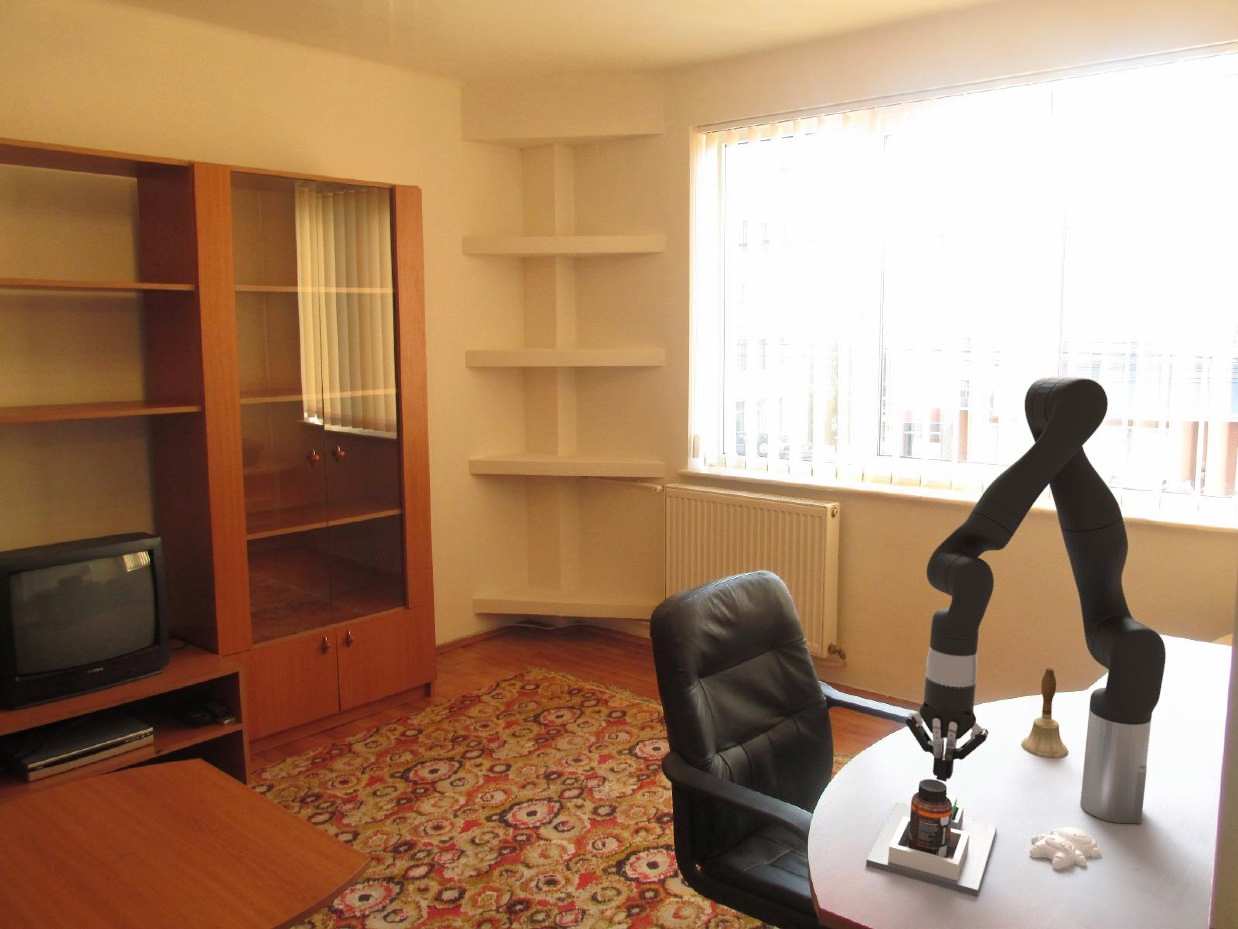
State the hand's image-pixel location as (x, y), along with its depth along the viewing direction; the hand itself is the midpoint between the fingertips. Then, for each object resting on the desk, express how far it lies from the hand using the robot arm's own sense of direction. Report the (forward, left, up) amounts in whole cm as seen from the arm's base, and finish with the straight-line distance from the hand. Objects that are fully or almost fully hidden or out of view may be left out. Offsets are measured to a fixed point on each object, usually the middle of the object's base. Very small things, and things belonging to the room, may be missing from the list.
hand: (942, 778), depth 157 cm
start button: (0, 0, -7) cm, 7 cm away
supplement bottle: (0, +10, -8) cm, 13 cm away
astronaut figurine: (-18, -3, -10) cm, 21 cm away
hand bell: (-12, -41, -9) cm, 44 cm away
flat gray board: (0, +6, -9) cm, 11 cm away
